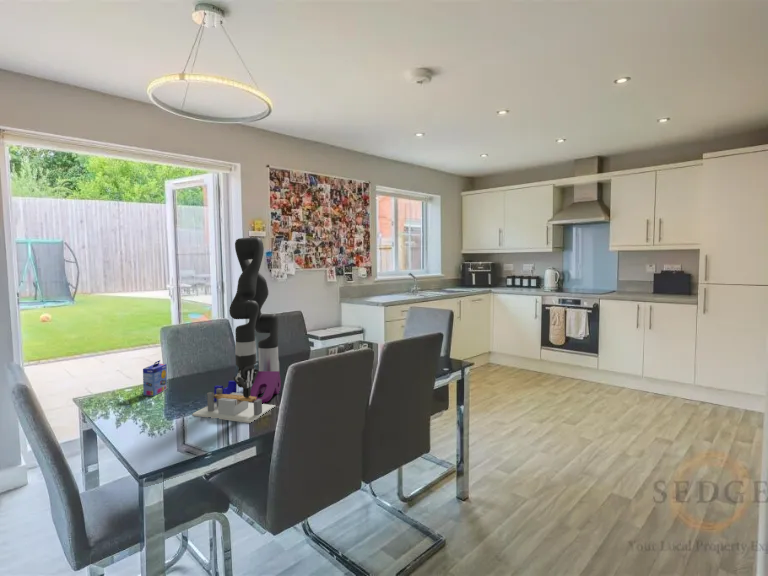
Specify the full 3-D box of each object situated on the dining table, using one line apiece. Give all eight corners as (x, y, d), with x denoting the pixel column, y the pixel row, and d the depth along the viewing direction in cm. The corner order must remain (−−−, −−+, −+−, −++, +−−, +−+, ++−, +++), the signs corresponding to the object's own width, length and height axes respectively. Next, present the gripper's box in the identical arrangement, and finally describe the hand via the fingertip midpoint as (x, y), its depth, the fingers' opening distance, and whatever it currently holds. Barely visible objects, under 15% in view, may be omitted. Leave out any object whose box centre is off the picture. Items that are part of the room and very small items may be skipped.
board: (221, 401, 179) (220, 382, 178) (275, 407, 171) (275, 387, 171) (192, 415, 163) (191, 395, 162) (250, 423, 155) (250, 401, 155)
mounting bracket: (271, 415, 179) (281, 385, 194) (268, 400, 175) (279, 371, 190) (249, 415, 179) (261, 385, 195) (246, 400, 175) (258, 371, 190)
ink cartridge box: (154, 396, 185) (153, 363, 184) (142, 396, 186) (141, 363, 185) (168, 389, 195) (166, 358, 194) (156, 389, 196) (155, 358, 195)
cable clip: (227, 393, 188) (227, 380, 188) (236, 394, 187) (236, 380, 188) (210, 400, 177) (211, 386, 177) (220, 401, 176) (220, 386, 176)
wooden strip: (210, 398, 166) (210, 395, 166) (216, 395, 169) (216, 392, 169) (251, 402, 161) (251, 398, 161) (256, 399, 164) (256, 396, 164)
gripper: (247, 348, 169) (248, 390, 171) (226, 355, 157) (227, 401, 158) (264, 349, 167) (265, 392, 168) (243, 357, 154) (244, 403, 156)
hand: (247, 396), depth 163 cm, fingers closed
